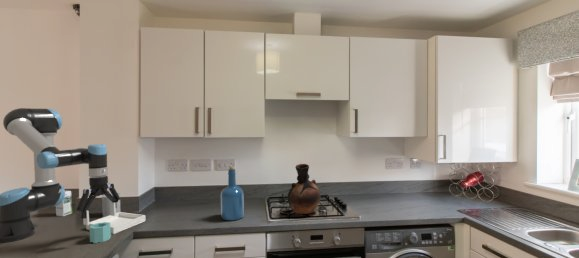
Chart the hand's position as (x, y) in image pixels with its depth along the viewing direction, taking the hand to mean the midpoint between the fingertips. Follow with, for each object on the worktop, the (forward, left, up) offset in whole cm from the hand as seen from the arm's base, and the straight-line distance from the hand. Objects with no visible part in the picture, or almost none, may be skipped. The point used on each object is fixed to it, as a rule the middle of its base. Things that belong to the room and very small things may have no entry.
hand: (100, 219), depth 140 cm
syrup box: (+20, +58, -10) cm, 62 cm away
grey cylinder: (+29, +29, -10) cm, 42 cm away
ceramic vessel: (+68, -83, -10) cm, 107 cm away
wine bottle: (+48, -45, -10) cm, 66 cm away
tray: (+17, +10, -10) cm, 22 cm away
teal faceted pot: (0, 0, -10) cm, 10 cm away
